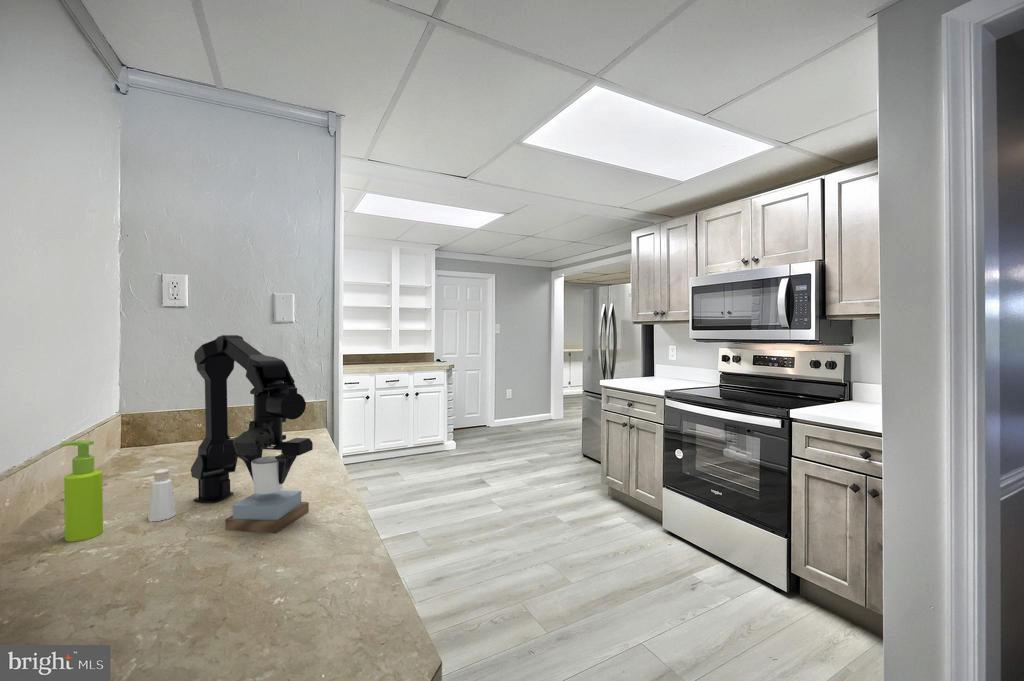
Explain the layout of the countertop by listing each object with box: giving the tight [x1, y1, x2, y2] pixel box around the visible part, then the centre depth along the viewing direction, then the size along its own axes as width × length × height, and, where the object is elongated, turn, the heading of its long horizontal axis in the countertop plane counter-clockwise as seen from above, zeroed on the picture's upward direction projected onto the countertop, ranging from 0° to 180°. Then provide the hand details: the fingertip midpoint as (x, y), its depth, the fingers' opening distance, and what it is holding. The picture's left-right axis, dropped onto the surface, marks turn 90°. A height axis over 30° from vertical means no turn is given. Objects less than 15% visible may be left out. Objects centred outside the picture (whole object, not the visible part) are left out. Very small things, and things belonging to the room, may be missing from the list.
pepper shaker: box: [147, 468, 177, 523], centre depth 106 cm, size 5×5×11 cm
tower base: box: [224, 501, 310, 534], centre depth 104 cm, size 12×12×3 cm
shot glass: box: [251, 455, 284, 494], centre depth 104 cm, size 7×7×7 cm
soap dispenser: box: [58, 440, 104, 543], centre depth 96 cm, size 6×7×20 cm
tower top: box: [232, 489, 302, 520], centre depth 104 cm, size 10×10×3 cm
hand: (268, 482), depth 104 cm, fingers closed on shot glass, 6 cm apart
